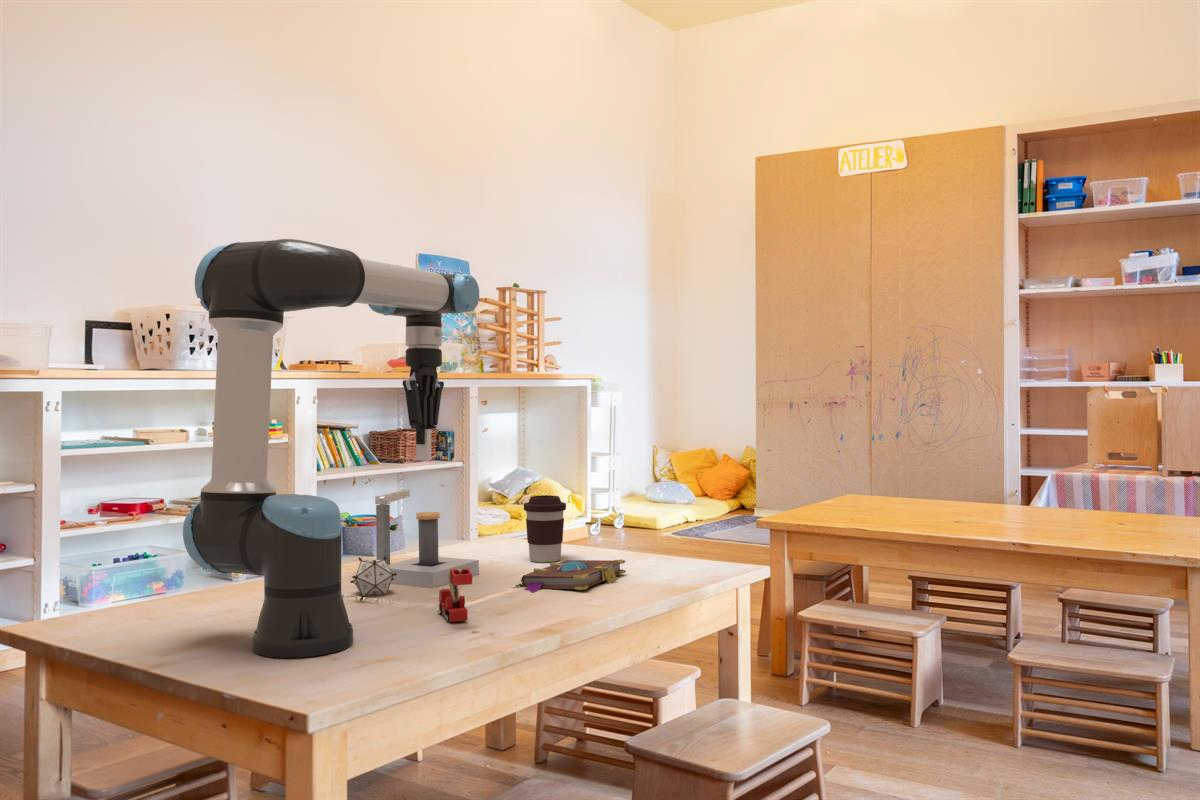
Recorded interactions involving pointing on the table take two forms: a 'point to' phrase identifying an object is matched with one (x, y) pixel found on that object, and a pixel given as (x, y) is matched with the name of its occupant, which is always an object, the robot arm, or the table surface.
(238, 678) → the table surface
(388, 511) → the post
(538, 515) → the coffee cup
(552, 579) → the book
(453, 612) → the toy fire truck
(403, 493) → the silver ball-ended lever
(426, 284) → the robot arm
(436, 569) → the socket block
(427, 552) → the plug
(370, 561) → the game die
